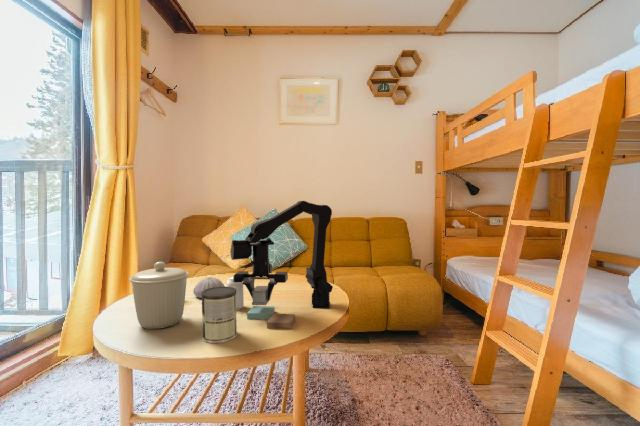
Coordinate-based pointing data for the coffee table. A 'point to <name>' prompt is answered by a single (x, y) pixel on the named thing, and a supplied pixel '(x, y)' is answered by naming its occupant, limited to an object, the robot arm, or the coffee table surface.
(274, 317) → the brown flat square block
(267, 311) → the stand
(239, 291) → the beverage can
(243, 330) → the coffee table surface
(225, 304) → the coffee can
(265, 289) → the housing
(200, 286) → the sea urchin shell
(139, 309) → the canister
